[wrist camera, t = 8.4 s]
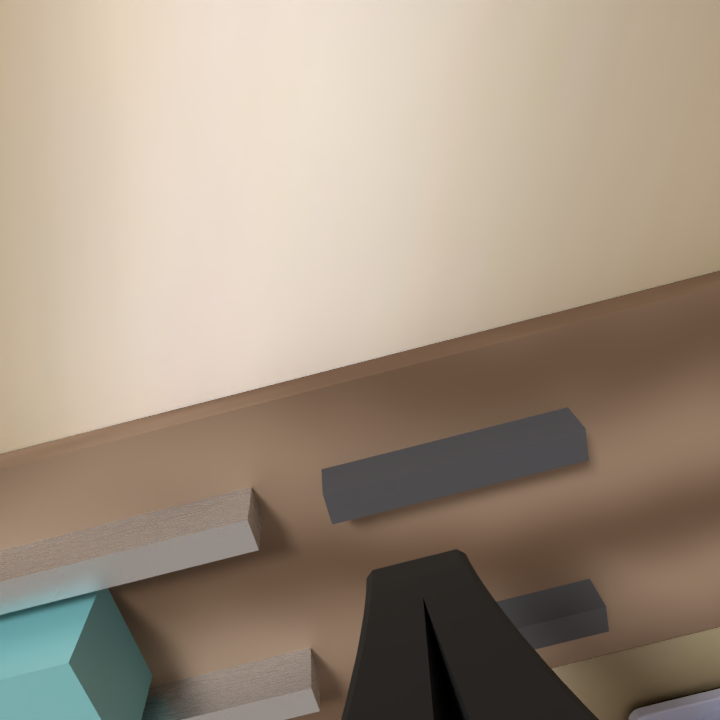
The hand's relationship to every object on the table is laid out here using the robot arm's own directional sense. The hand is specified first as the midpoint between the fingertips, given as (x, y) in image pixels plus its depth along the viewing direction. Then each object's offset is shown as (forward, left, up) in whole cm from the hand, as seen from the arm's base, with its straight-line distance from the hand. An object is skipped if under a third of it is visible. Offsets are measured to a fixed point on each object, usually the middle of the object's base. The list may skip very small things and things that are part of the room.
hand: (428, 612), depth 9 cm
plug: (-6, +12, -8) cm, 16 cm away
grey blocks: (-6, -1, -8) cm, 10 cm away
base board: (-6, +4, -9) cm, 12 cm away
